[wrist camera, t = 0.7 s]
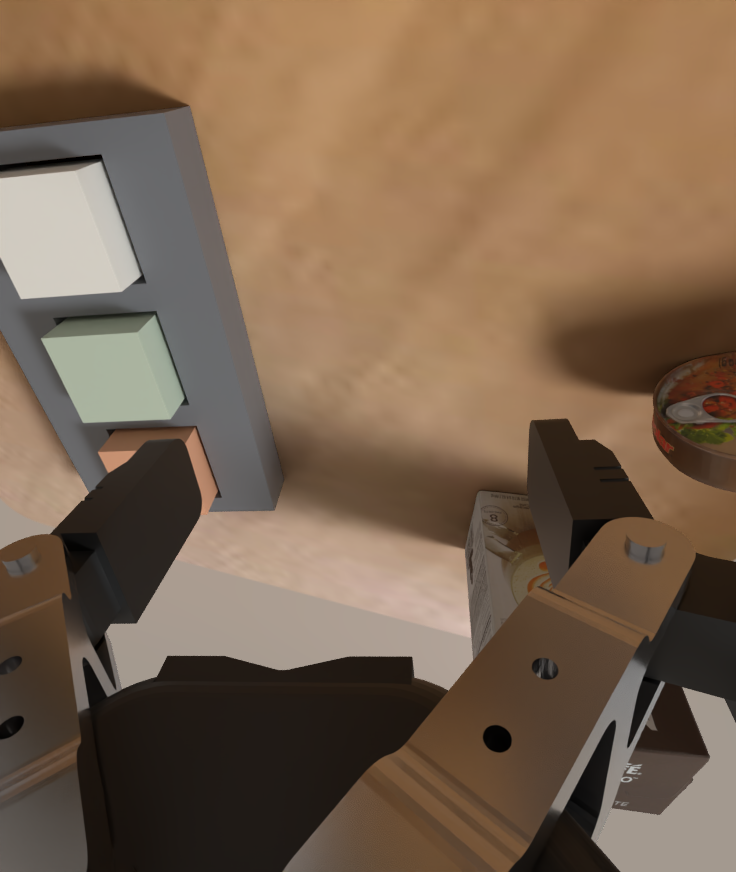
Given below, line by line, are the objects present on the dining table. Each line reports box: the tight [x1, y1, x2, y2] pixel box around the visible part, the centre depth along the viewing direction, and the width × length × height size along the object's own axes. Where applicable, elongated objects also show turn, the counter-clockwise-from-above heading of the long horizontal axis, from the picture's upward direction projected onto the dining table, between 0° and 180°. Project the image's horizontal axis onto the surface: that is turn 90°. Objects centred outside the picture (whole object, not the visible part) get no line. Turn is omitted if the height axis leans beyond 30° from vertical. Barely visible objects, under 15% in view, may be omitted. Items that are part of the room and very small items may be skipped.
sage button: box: [41, 311, 186, 423], centre depth 28 cm, size 5×5×3 cm
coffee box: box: [465, 491, 710, 815], centre depth 31 cm, size 9×6×16 cm
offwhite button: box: [0, 158, 143, 299], centre depth 24 cm, size 5×5×3 cm
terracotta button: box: [98, 426, 219, 515], centre depth 32 cm, size 5×5×3 cm
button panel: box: [0, 106, 284, 512], centre depth 30 cm, size 22×12×3 cm, turn 6°
